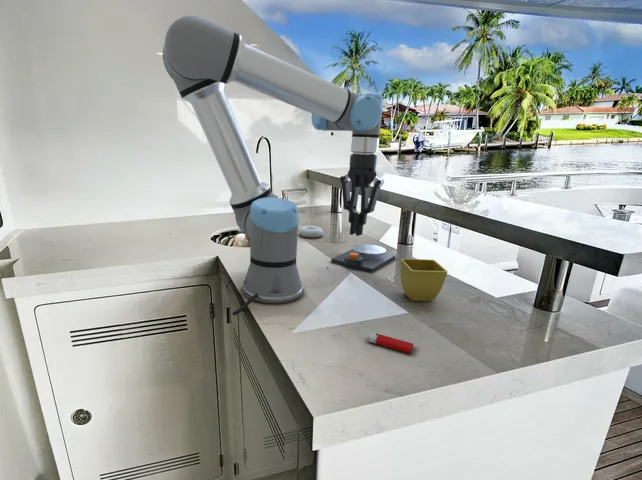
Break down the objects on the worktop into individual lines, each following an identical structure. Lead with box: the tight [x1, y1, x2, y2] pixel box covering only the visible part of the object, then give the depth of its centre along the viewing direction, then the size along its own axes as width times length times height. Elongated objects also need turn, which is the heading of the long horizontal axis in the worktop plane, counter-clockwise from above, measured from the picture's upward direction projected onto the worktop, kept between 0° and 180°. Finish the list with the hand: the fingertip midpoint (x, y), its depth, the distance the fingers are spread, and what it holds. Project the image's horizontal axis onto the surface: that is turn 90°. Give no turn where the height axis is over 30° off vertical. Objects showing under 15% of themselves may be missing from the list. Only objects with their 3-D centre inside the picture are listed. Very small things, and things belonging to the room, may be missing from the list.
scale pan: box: [351, 243, 387, 255], centre depth 125 cm, size 11×11×1 cm
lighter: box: [368, 333, 414, 355], centre depth 74 cm, size 3×1×8 cm
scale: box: [330, 249, 397, 274], centre depth 123 cm, size 19×14×3 cm
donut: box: [298, 225, 324, 239], centre depth 153 cm, size 10×4×10 cm
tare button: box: [349, 253, 358, 259], centre depth 118 cm, size 3×3×2 cm
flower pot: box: [400, 258, 448, 302], centre depth 95 cm, size 9×9×9 cm
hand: (356, 234), depth 115 cm, fingers closed
